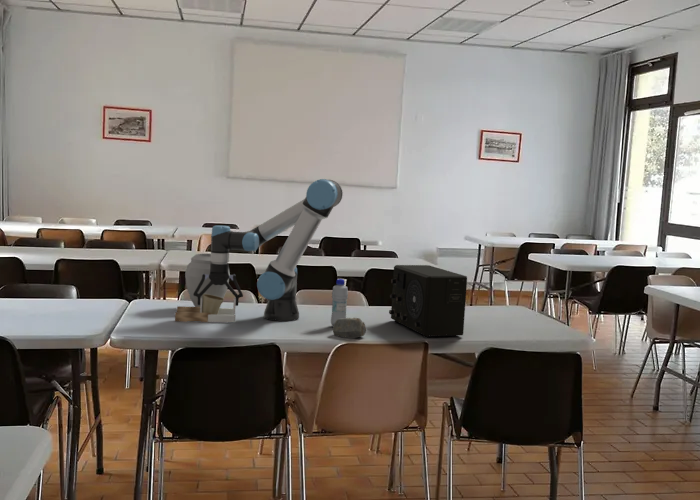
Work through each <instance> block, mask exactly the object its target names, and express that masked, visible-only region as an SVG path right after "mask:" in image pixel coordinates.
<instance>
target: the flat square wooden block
mask: <svg viewBox="0 0 700 500" xmlns="http://www.w3.org/2000/svg"><path fill="white" fill-rule="evenodd" d="M208 315H211V313H200V307H195V306H180V305H179V306H178V305H177V307H176V311H175V315H174V317H175V318H174V321H175V322H187V321H201V322H202V323H204V322H205V323H209V322H208ZM201 322H200V323H201Z"/></svg>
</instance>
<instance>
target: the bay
mask: <svg viewBox="0 0 700 500" xmlns="http://www.w3.org/2000/svg"><path fill="white" fill-rule="evenodd" d="M228 322H235V323H236V314H233V307H231V308H229V307H222V308H221V307H220V309H219V311H218V314H211V315H208V322H207V323H228Z"/></svg>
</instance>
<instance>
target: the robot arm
mask: <svg viewBox="0 0 700 500" xmlns="http://www.w3.org/2000/svg"><path fill="white" fill-rule="evenodd" d="M343 193H344V192H343V189H342V186H341V185H340V184H339V183H338V182H337V181H335V180H332V179H325V178H321V179H317V180H315V181H313V182H312V183H311V184H309V186H308V187H307V189H306V193H305V194H306V195H305V198H303V199H302V200H300V201H299V202H297V203H295V204H293V205H291V206H290V207H288V208H286V209H285V210H283V211H282V212H280V213H278V214H277V215H275V216H273V217H271V218H270V219H267V220H266V221H265V222H263V223H260V224H259V225H257V226H256V227H253V229H250V230H247V231H232V230H231V227H230V226H229V225H214V226H212V228H211V236H210V238H211V239H210V240H211V241H210V245H211V246H210V254H211V262H212V263H211V264H210V274H209V275H207V274H203V275H202V279H201V281H200V283H199V285H198V286H197V288H196V290H195V292H194V294H193V295H194V296H196V297H198V305H200V313H202V297H201V296H202V295H203V294H204V293H205V292H206V291H207V290H208V289H209V287H210V286H211V285H212V284H214V285H224V284H225V285H226V286H227V290H229V291H230V293H232V295H233V296H234V297H233V307H232V308H233V314H234V315H236V307H238V306H239V299H240V298H243V297H244V294H243V292H242V290H241V287H240V285H239V284H238V280H237V276H236V274H235V273H233V274H230V275H229V274H228V270H229V271H230V267H229V265H230V264H229V262H230V250H231V251H232V250H233V251H234V250H235V251H236V250H237V251H246V252H255V251H257V250H258V248H260V247H262V245H263V244H265V243H267V242H268V241H270V240H271V239H273V238H275V237H277V236H278V235H280V234H282V233H284V232H285V231H287V230H289V229H290V228H292V227H293V228H292V229H291V231H290V233H289V234H288V237H287V239H286V240H285V242H284V243H283V246H282V248H281V250H280V251H279V253H278V255H277V256H276V259H275V260H271V261H270V262H269V263H268V265H267V267H266V268H265V270H264V272H263V273H261V274H260V275H259V277H258V279H257V282H256V287H257V290H258V291H257V292H258V293H259V295H261V297H263V298H264V299H266V300H268V301H267V303H266V306H265V309H264V311H263V318H264V319H267V320H270V321H276V322H277V321H281V322H289V321H297V320H299V319H300V311H299V308H298V304H297V285H298V283H297V282H298V281H297V280H298V268H297V265H299V261H300V260H301V258H302V257H303V255H304V253H305V251H306V250H307V248H308V245H309V244H310V242H311V241H312V238H313V237H314V235H315V233H316V232H317V230H318V228H319V226H320V224H321V222H322V221H323V220H325V219H327V218H328V217H329V216H330V214H331V213H332V210H333V209H334V207H336V206H338V205H339V204H340V203H341V201H342V199H343V196H344V195H343ZM208 277H209V279H210V280H211V281H210V282H209V283H208V285H207V286H206V287H205V288H204V289H203V290H202V291H201V292H200V293H199V294H198V291H199V289H200V288H201V286H202V284H203V282H204V280H205V279H207V278H208ZM228 279H229V280H230V281H232V282H233V284H234V285H235V288H236V290H237V292H236V291H235V289H234V288H233V287H232V286H231V285H230V283H228V282H227V280H228Z"/></svg>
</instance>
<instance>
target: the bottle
mask: <svg viewBox="0 0 700 500" xmlns="http://www.w3.org/2000/svg"><path fill="white" fill-rule="evenodd" d="M335 283H336V284H335V285H334V286H333V287H332V292H331V299H332V302H331V303H332V304H331V305H332V306H331V316H330V323H331V326H332V328H333V327H334V324H335V322H336V320H337V319H342V318H347V305H348V303H347V302H348V298H349V297H348V296H349V290H348V286H346V285H345V280H344V279H342V278H337V279H336V282H335Z"/></svg>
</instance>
